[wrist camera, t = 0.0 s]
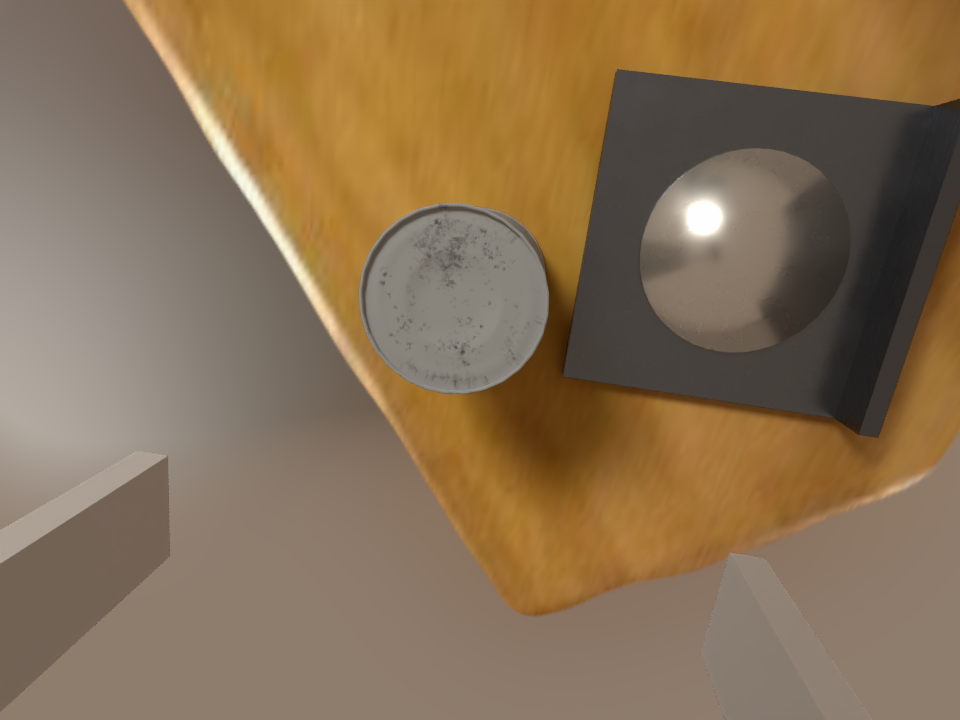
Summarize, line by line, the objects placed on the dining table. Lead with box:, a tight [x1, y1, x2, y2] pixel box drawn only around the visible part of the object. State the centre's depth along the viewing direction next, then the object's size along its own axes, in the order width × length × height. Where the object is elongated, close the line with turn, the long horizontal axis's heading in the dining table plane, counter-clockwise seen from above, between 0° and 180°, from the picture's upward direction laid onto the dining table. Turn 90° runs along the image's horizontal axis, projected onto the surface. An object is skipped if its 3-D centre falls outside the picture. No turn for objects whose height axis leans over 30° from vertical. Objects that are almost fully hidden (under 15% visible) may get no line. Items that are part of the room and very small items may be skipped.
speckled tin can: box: [359, 203, 549, 394], centre depth 33 cm, size 10×10×12 cm
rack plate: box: [562, 69, 960, 438], centre depth 35 cm, size 20×20×4 cm
